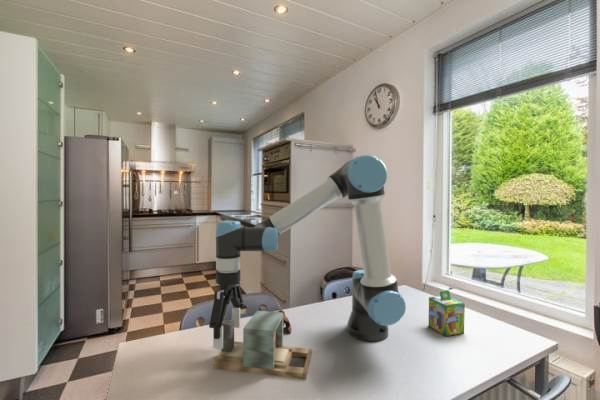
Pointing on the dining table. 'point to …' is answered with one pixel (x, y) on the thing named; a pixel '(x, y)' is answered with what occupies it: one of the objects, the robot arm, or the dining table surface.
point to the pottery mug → (286, 321)
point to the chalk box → (446, 314)
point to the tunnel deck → (266, 350)
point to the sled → (237, 349)
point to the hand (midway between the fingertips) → (227, 336)
